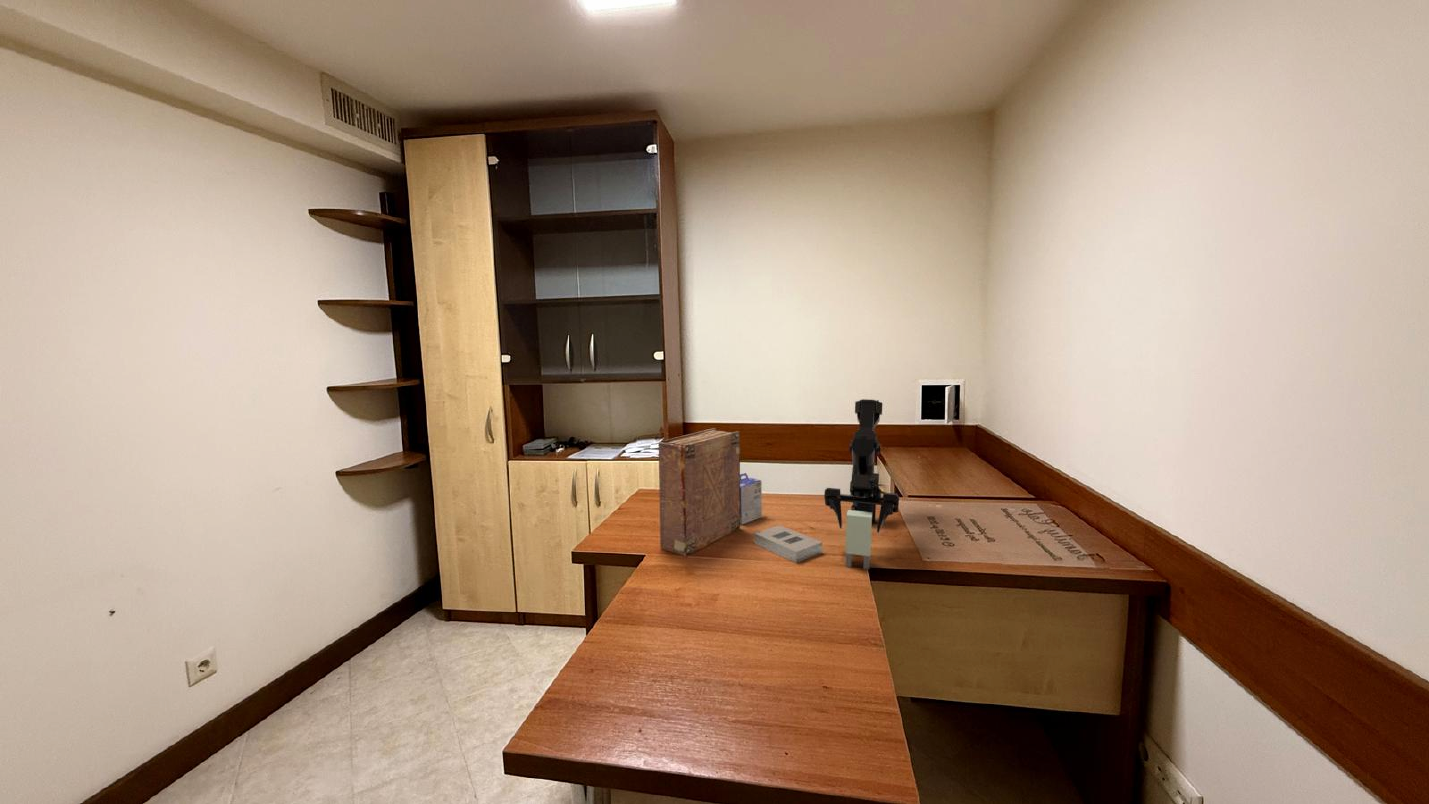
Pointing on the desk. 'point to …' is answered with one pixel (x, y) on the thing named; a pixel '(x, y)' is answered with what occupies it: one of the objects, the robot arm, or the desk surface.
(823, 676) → the desk surface
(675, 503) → the book
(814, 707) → the desk surface
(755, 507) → the ink cartridge box
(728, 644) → the desk surface
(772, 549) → the grey slotted base
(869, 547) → the clip
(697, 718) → the desk surface
